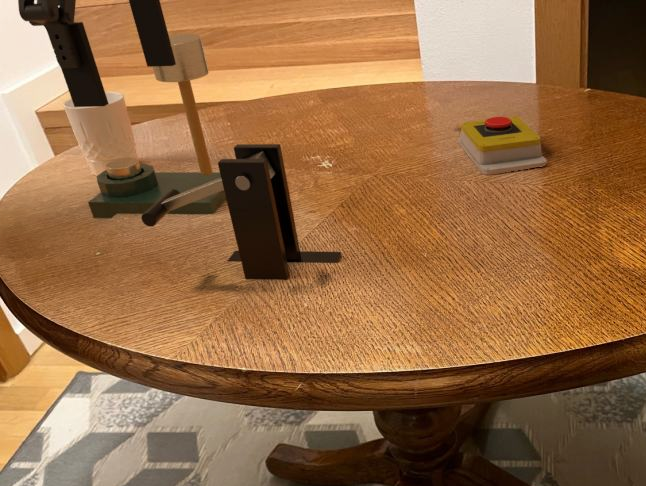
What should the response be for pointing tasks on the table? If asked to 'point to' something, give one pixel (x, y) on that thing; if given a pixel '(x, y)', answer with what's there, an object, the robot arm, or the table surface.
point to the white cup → (102, 131)
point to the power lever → (188, 196)
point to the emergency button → (501, 145)
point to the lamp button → (123, 168)
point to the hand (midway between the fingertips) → (129, 84)
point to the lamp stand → (188, 86)
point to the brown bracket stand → (263, 214)
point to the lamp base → (151, 193)
